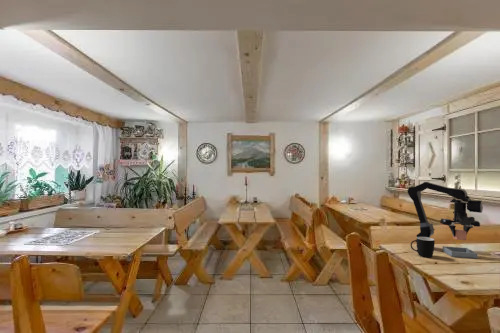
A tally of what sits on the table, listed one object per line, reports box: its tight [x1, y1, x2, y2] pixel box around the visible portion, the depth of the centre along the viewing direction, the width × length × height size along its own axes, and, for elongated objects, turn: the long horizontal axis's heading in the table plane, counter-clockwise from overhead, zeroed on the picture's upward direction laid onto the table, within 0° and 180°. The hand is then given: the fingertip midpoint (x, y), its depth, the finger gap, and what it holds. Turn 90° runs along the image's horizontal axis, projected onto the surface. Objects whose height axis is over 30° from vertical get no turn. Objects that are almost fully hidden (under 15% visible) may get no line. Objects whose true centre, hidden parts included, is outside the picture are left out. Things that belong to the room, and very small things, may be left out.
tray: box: [442, 246, 478, 260], centre depth 175 cm, size 13×12×3 cm
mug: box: [410, 236, 436, 259], centre depth 172 cm, size 12×9×10 cm
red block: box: [452, 228, 468, 241], centre depth 175 cm, size 5×5×5 cm
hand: (459, 237), depth 175 cm, fingers closed on red block, 5 cm apart
